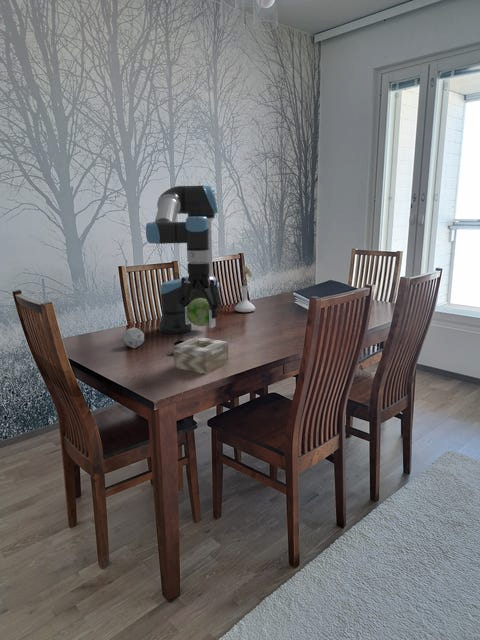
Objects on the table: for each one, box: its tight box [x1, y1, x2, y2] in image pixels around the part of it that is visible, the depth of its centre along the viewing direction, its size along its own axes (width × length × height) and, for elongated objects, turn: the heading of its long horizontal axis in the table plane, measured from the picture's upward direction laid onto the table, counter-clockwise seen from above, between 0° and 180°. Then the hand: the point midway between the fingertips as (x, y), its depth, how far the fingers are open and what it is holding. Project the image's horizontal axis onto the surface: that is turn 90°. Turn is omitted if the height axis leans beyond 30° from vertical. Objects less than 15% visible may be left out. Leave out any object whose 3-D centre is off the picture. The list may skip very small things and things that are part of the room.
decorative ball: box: [186, 298, 211, 327], centre depth 164 cm, size 10×10×10 cm
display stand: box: [172, 336, 229, 375], centre depth 167 cm, size 14×14×8 cm
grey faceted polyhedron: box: [123, 326, 145, 349], centre depth 191 cm, size 8×9×10 cm
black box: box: [167, 339, 186, 357], centre depth 183 cm, size 13×8×5 cm, turn 158°
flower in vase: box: [234, 265, 256, 313], centre depth 251 cm, size 13×11×25 cm
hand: (200, 325), depth 165 cm, fingers closed on decorative ball, 10 cm apart
